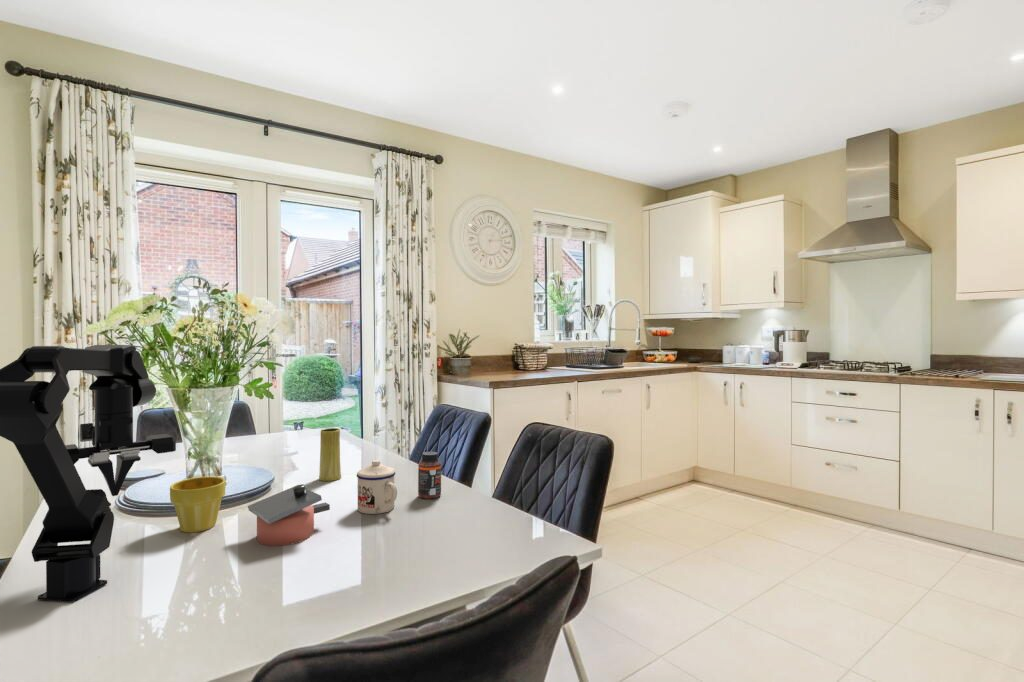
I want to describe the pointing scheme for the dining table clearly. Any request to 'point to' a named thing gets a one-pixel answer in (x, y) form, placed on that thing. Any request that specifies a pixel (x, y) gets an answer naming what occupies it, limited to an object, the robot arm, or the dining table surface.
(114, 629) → the dining table surface
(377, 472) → the teacup with lid
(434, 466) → the supplement bottle
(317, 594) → the dining table surface
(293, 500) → the lid
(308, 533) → the cooker pot
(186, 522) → the plant pot
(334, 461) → the vase
